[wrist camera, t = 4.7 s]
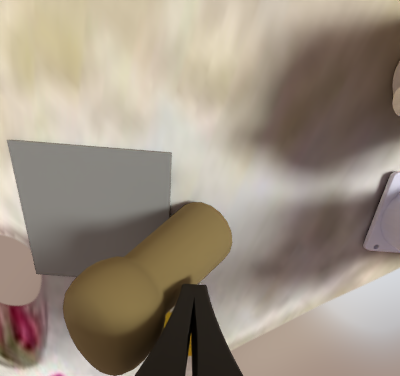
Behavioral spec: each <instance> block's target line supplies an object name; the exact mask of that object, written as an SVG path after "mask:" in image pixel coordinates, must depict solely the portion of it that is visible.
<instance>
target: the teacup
mask: <svg viewBox="0 0 400 376" xmlns="http://www.w3.org/2000/svg"><path fill="white" fill-rule="evenodd" d="M392 89H393V95H394V96H393V102H392V104H393V109H394V111H395V113H396V114H397V115H398V116H400V61H399V63H398V65H397V67H396V70H395V72H394V77H393V84H392Z"/></svg>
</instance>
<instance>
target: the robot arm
mask: <svg viewBox="0 0 400 376" xmlns="http://www.w3.org/2000/svg"><path fill="white" fill-rule="evenodd" d="M363 246H364V248H365V249H367V250H369V251H383V252H396V253H400V171H395V172H393V173H392V174H391V175H390V177H389V180H388V182H387V185H386V187H385V190H384V192H383V195H382V198H381V200H380V203H379V205H378V208H377V211H376V213H375V216H374V218H373V221H372V223H371V226H370V229H369V231H368V234H367V236H366V239H365V241H364V244H363ZM190 337H191V351H192V376H243V374H242V373H241V371H240V369H239V367H238V365H237V363H236V361H235V359H234V358H233V356H232V354H231V352H230V350H229V347H228V345H227V343H226V341H225V339H224V336H223V334H222V332H221V329H220V327H219V325H218V322H217V319H216V317H215V314H214V311H213V308H212V305H211V302H210V298H209V294H208V290H207V286H206V285H197V284H183V285H182V287H181V291H180V294H179V297H178V300H177V302H176V305H175V307H174V309H173V311H172V313H171V316H170V318H169V320H168V322H167V324H166V326H165V327H164V329H163V331H162V333H161V335H160V337H159V338H158V340H157V342H156V344H155V345H154V347H153V349H152V350H151V352H150V353H149V355H148V357H147V358H146V360H145V361H144V363H143V364H142V366H141V367H140V369H139V370H138V372H137V373H136V374H135V376H185V374H186V367H187V359H188V352H189V344H190Z"/></svg>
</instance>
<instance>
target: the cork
mask: <svg viewBox="0 0 400 376" xmlns="http://www.w3.org/2000/svg"><path fill="white" fill-rule="evenodd" d="M231 245H232V234H231V230H230V228H229V225H228V223H227V221H226V220H225V218H224V217H223V216H222V214H221V213H220V212H219V211H217V210H216V209H215V208H213V207H212V206H210V205H207V204H204V203H202V202H192V203H189V204H186V205H184V206H183V207H182V208H181V209H179V210H178V211H177V212H176V213H175V214H174V215H172V216H171V217H170V218H169V219H168V220H167V221H165V222H164V223H163V224H162V225H161V226H160V227H158V228H157V229H156V230H155V231H154V232H153V233H151V234H150V235H149V236H148V237H147V238H146V239H144V240H143V241H142V242H141V243H140V244H138V245H137V246H136V247H135V248H134V249H133V250H131V251H130V252H129V253H128V254H127V255H126V256H124V257H118V256H117V257H112V258H108V259H105V260H101V261H98V262H96V263H95V264H93V265H91V266H89V267H88V268H86V269H85V270H84V271H83V272H82V273H81V274H80V275H79V276H78V277H77V278H76V279H75V280H74V281H73V282H72V284H71V285H70V287H69V288H68V290H67V291H66V293H65V297H64V304H63V313H64V319H65V322H66V326H67V329H68V331H69V333H70V336H71V338H72V340H73V342H74V344H75V345H76V347H77V349H78V350H79V351H80V353H81V354H82V355H83V356H84V358H85V359H86V360H87V361H88V362H89V363H90V364H91V365H92V366H93V367H95V368H96V369H97V370H99V371H100V372H102V373H105V374H108V375H113V376H117V375H122V374H124V373H126V372H128V371H131V370H133V369H135V368H136V367H137V366H138V365H139V364H140V363H141V362H142V361H144V360H145V358H146V357H147V356H148V354H149V353H150V352H151V350H152V349H153V347H154V345H155V344H156V342H157V340H158V338H159V337H160V335H161V333H162V331H163V329H164V323H165V316H166V314H167V313H168V312H169V311H170V310H171V309H172V308H173V307H174V306H175V305H176V302H177V300H178V297H179V294H180V291H181V287H182V285H183V284H198V283H199V282H200V281H201V280H202V279H204V278H205V277H206V276H207V275H208V274H209V273H210V272H211V271H212V270H213V269H214V268H215V267H216V266H217V265H218V264H219V263H220V262H221V261H222V260H223V259H225V257H226V256H227V255H228V253H229V252H230V249H231Z"/></svg>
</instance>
